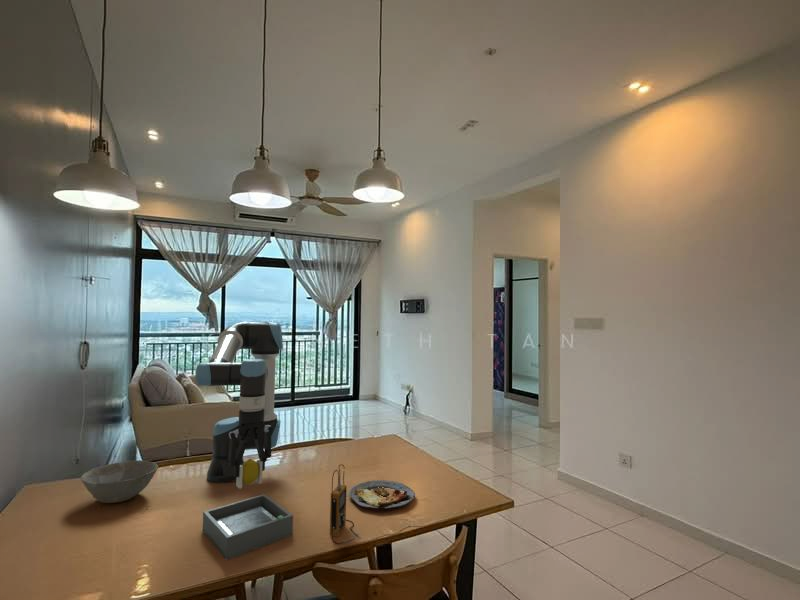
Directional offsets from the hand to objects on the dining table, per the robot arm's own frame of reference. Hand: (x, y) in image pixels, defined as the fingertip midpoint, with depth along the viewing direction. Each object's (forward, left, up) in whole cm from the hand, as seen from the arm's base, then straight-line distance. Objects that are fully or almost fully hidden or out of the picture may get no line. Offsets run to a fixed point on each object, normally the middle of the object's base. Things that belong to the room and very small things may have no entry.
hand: (249, 484), depth 127 cm
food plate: (+8, +48, -15) cm, 51 cm away
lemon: (0, 0, -1) cm, 1 cm away
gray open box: (0, 0, -15) cm, 15 cm away
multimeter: (+20, +24, -15) cm, 35 cm away
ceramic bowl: (-53, -25, -15) cm, 61 cm away
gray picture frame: (0, 0, -12) cm, 12 cm away
